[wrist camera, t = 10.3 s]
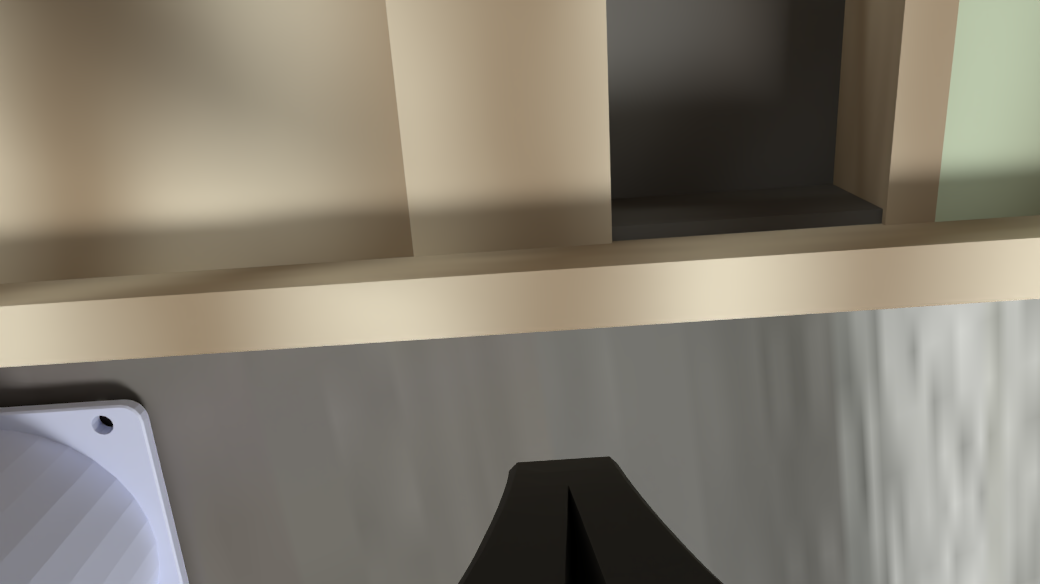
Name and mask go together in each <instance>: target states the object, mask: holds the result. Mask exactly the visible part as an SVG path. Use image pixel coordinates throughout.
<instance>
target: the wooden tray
mask: <svg viewBox="0 0 1040 584" xmlns="http://www.w3.org/2000/svg"><path fill="white" fill-rule="evenodd" d="M1026 299H1040V0H0V367H14V366H29V365H44V364H59V363H74V362H90V361H105V360H120V359H135V358H150V357H165V356H180V355H195V354H210V353H225V352H241V351H256V350H271V349H286V348H301V347H316V346H331V345H346V344H361V343H377V342H392V341H407V340H422V339H437V338H452V337H467V336H482V335H497V334H513V333H528V332H543V331H558V330H573V329H588V328H603V327H618V326H633V325H649V324H664V323H679V322H694V321H709V320H724V319H739V318H754V317H769V316H784V315H800V314H815V313H830V312H845V311H860V310H875V309H890V308H905V307H920V306H936V305H951V304H966V303H981V302H996V301H1011V300H1026Z"/></svg>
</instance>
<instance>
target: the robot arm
mask: <svg viewBox="0 0 1040 584" xmlns="http://www.w3.org/2000/svg"><path fill="white" fill-rule="evenodd" d="M99 416H106V417H107V418H109V419H110V420H111V421H112V423H113V427H110V426H106V425H105V424H103V423H102V422H101V420H100V418H99ZM0 584H189V581H188V577H187V573H186V568H185V564H184V560H183V556H182V552H181V548H180V544H179V540H178V535H177V531H176V527H175V523H174V519H173V515H172V511H171V507H170V502H169V498H168V494H167V490H166V486H165V482H164V478H163V474H162V469H161V465H160V461H159V457H158V453H157V449H156V445H155V441H154V436H153V432H152V428H151V424H150V420H149V416H148V414H147V412H146V409H145V408H144V407H143V406H142V405H141V404H139V403H137V402H135V401H133V400H126V399H122V400H107V401H92V402H77V403H62V404H47V405H32V406H16V407H1V408H0ZM458 584H723V583H722V582H721V581H720V580H719V579H718V578H716V577H715V576H714V575H713V574H712V573H711V572H710V571H709V570H708V569H707V568H706V567H705V566H704V565H703V564H702V563H701V562H700V561H699V560H698V559H697V558H696V557H695V556H694V555H693V554H692V553H691V552H690V551H689V550H688V549H687V548H686V546H685V545H684V544H683V543H682V542H681V541H680V540H679V539H678V538H677V537H676V536H675V535H674V533H673V532H672V531H671V530H670V529H669V528H668V527H667V526H666V525H665V524H664V523H663V521H662V520H661V519H660V518H659V517H658V516H657V514H656V513H655V512H654V511H653V510H652V509H651V507H650V506H649V505H648V504H647V502H646V501H645V500H644V499H643V498H642V496H641V495H640V494H639V493H638V491H637V490H636V489H635V487H634V486H633V485H632V484H631V482H630V481H629V480H628V478H627V477H626V475H625V474H624V473H623V471H622V470H621V468H620V467H619V465H618V464H617V463H616V462H615V461H614V460H613V459H611V458H610V457H594V458H579V459H564V460H549V461H534V462H518V463H517V464H516V465H515V466H514V467H513V468H512V469H511V470H510V471H509V476H508V480H507V484H506V487H505V490H504V493H503V496H502V498H501V501H500V503H499V506H498V508H497V511H496V513H495V515H494V518H493V520H492V522H491V524H490V526H489V528H488V530H487V532H486V534H485V536H484V538H483V540H482V542H481V544H480V546H479V548H478V550H477V552H476V554H475V556H474V558H473V560H472V562H471V563H470V565H469V567H468V569H467V570H466V572H465V574H464V575H463V577H462V578H461V580H460V582H459V583H458Z"/></svg>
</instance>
